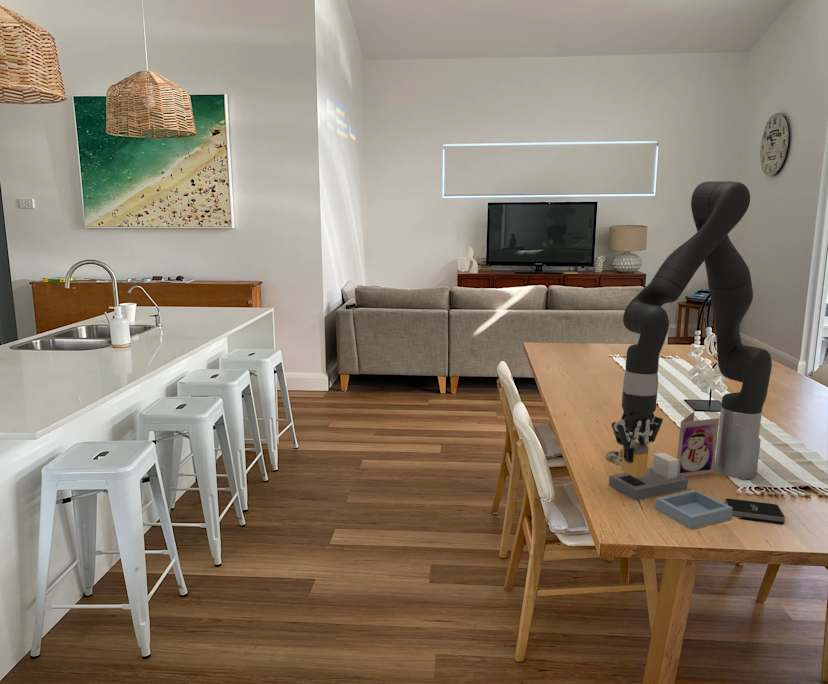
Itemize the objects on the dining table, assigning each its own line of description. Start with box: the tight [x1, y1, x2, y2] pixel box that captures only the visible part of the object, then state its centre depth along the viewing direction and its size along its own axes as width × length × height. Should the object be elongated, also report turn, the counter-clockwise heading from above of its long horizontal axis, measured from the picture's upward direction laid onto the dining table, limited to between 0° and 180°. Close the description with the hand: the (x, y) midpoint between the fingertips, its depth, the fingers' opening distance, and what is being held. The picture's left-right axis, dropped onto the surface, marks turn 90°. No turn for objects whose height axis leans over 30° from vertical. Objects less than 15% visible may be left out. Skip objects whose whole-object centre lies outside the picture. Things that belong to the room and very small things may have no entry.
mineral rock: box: [605, 448, 649, 467], centre depth 171 cm, size 11×4×8 cm
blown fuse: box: [621, 440, 650, 478], centre depth 151 cm, size 3×5×7 cm, turn 24°
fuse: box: [652, 452, 679, 480], centre depth 156 cm, size 3×5×7 cm, turn 24°
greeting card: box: [676, 411, 720, 477], centre depth 164 cm, size 11×7×15 cm, turn 106°
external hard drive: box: [723, 497, 786, 525], centre depth 142 cm, size 7×11×2 cm, turn 73°
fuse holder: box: [608, 466, 689, 501], centre depth 155 cm, size 16×9×3 cm, turn 114°
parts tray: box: [654, 489, 733, 531], centre depth 141 cm, size 12×10×3 cm
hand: (634, 460), depth 151 cm, fingers closed on blown fuse, 3 cm apart
